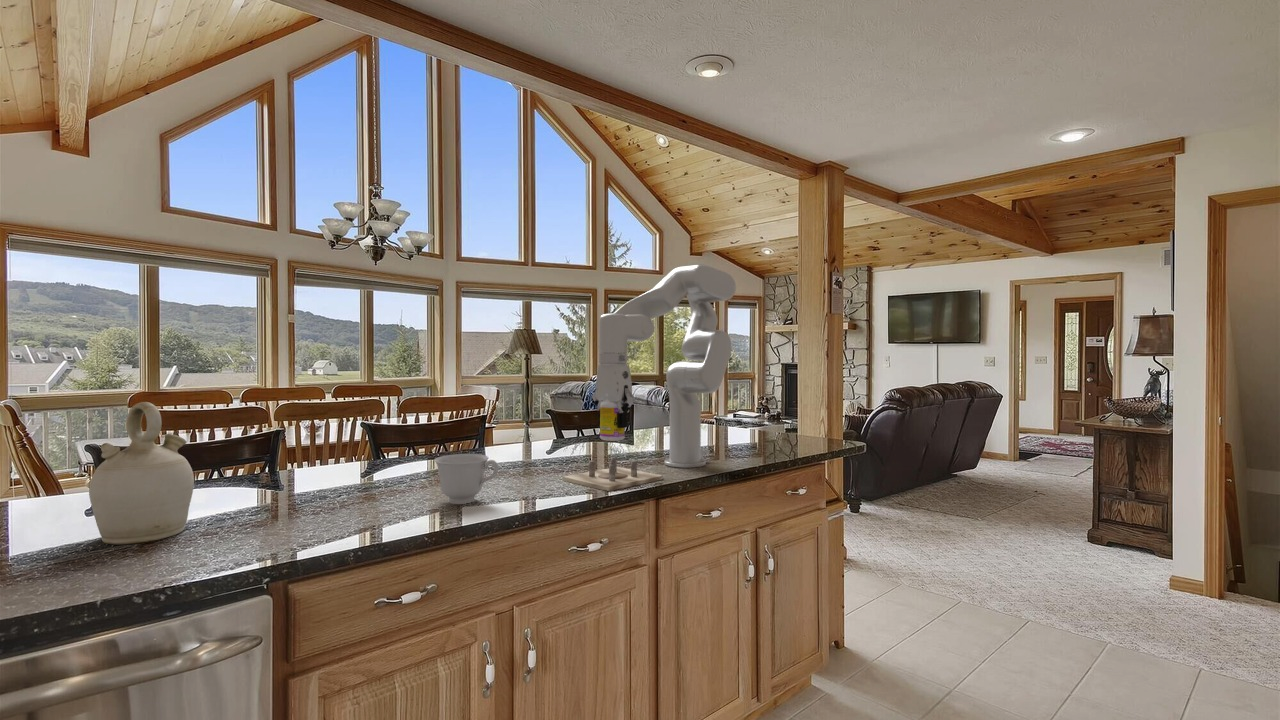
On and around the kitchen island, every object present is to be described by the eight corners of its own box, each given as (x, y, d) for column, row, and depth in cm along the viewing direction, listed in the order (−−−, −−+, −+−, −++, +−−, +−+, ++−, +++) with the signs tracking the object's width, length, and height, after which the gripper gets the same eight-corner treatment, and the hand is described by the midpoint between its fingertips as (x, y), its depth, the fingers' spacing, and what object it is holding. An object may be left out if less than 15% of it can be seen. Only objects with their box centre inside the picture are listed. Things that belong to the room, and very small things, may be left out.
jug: (181, 519, 127) (179, 397, 126) (205, 533, 117) (204, 401, 117) (81, 536, 115) (80, 402, 115) (99, 553, 105) (98, 407, 105)
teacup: (486, 510, 134) (486, 464, 134) (423, 506, 137) (423, 461, 137) (508, 497, 146) (508, 455, 146) (450, 494, 149) (450, 452, 149)
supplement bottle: (613, 442, 161) (614, 392, 161) (594, 439, 165) (595, 391, 165) (629, 439, 166) (630, 391, 166) (611, 437, 170) (611, 390, 170)
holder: (617, 470, 180) (617, 453, 179) (662, 479, 167) (662, 460, 167) (562, 480, 165) (562, 461, 165) (608, 491, 153) (608, 471, 153)
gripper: (646, 360, 162) (645, 428, 162) (601, 359, 174) (601, 422, 175) (625, 360, 157) (625, 430, 157) (581, 359, 169) (581, 424, 169)
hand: (612, 425), depth 166 cm, fingers closed on supplement bottle, 6 cm apart
